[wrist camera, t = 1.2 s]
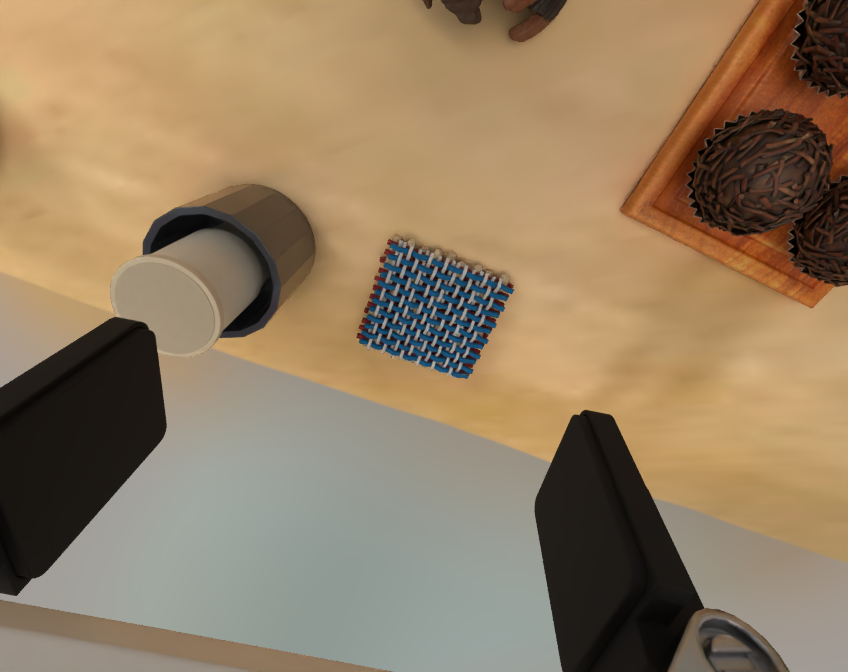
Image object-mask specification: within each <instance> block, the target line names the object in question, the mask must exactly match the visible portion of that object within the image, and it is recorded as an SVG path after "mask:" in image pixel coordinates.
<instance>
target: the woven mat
mask: <svg viewBox="0 0 848 672" xmlns="http://www.w3.org/2000/svg"><path fill="white" fill-rule="evenodd" d="M402 243H403V241H402V237H400V236H398V235H394V238H393V241H392V240H390V239H389V240H388V243H387V244H388V245H391V246H390V249H389V250H388V249H385V252H384V254H386V255H387V257H380V262H382V263H385V264H384V268H379V271H378V272H379V273H381V275H380V276H381V277H378V276H375V278H374V279H375V280H377V281H379V282H378V285H373V290H375V294H372V293H371V294H370V297H369V298H371V299H373V300H372V302H370V301H368V303H367V306H368V307H370V308H365V310H364V312H365V313H368V315H367V318H363V319H362V323H365V324H364V325H360V326H359V329H361V330H362V333H361V334H360V333H358V334H357V337H356V338H359V339H360V340H359V343H360V344H363V346H366V345H368V346H367V350H368V351H369V348H370V346H371V347H372V348H374V350H381V349H382V354H383V353H385V351H386V352H388V355H392V356H391V358H393V359H394V357H395V356H399V360H401V359H402V357H403V358H404V359H405V361H411V362H412V363H414V361H417V362H416V363H415V365H416V366H418V364H421V365H422V367H429V366H430V369H431V370H433V369H436V370H438V371H439V372H440V373H443V372H446V373H448V374H447V375H448V376H450V374H451V375H452V376H453V378H456V377H457V378H466V379H467V378H468V376H469V374H472V372H473V369H471V368H472V367H473V365H474V364H475V362H476V359H480V356H481V355H480V350H478V349H475V348H479V349H481V350H482V348H483V346H484V343H485V344H487V343H488V341H489V340H488V339H486V338H487V337H488V334H490V333H491V330H492V328H495V327H496V325H497V324H496V323H495V321H496V319H494V318H491V317H496V318H498V317H499V315H500V311H502V312H503V311H504V309H505V307H504V303H502V302H500V301H498V300H499V299H500V300H504V301H507V299H508V297H509V295H508V294H506V293H503V291H505V292H507V293H510V294H512V293H513V291H514V290H513V289H512V288H513V286H514V285H512V284H510V283H509V282H508V281H509V278H510V276H508V275H507V274H502V276H501V278H500V279H499V278H496V277H493V278H492V276H493V274H494V272H492V271H490V270H486V272H485V274H484V271H481V270H482V265H479V264H477V265H476V266H475V267H473V268H472V270H470V269H468V264H467V263H465V262H462V261H460V263H459V262H458V263H457V264H456V261H455V258H456V255H457V254H455V253H454V252H453V251H449V253H448V255H447V258H446V260H445V259H444V258H442V254H443V252H442V251H441V250H440V249H435V251H434V253H432V252H431V253H430V251H428V247H427V246H422V245H421V248H420V249H419V250H417V249H414V247H415V240H413V239H410V240H409V241H408V242H404V243H403V244H402ZM399 252H400V254H399ZM411 256H413V257H415V258H416V260H415V259H412V258H411ZM426 261H428V263H427V264H425V263H426ZM408 266H411V267H413V268H412V269H411V268H409V267H408ZM438 267H443V268H442V269H439V268H438ZM392 271H393V272H392ZM396 272H397V273H396ZM422 272H423V273H422ZM483 274H484V275H483ZM435 276H437V277H438V278H435ZM465 276H467V277H468V278H467V277H465ZM393 281H394V282H393ZM448 281H450V282H448ZM480 281H482V282H481V284H479V283H480ZM401 284H402V285H401ZM404 285H406V286H404ZM488 285H489V286H488ZM433 286H435V287H433ZM460 286H464V288H462V287H460ZM491 287H495V289H493V288H491ZM472 290H473V291H472ZM457 294H459V295H460V296H457ZM488 295H489V296H490V297H489V296H488ZM412 297H414V298H412ZM387 298H388V299H387ZM468 299H469V300H468ZM472 300H473V301H472ZM398 302H400V303H398ZM427 303H428V304H427ZM456 304H457V305H456ZM484 305H486V306H484ZM464 307H465V308H464ZM494 308H495V309H497V310H499V311H497V310H495V309H494ZM392 309H393V310H392ZM480 313H481V314H480ZM406 314H408V315H406ZM434 314H435V316H434ZM490 316H491V317H490ZM376 317H377V318H376ZM392 318H394V319H392ZM420 319H422V320H420ZM447 320H450V321H447ZM486 325H488V326H486ZM414 326H415V327H414ZM489 326H490V327H489ZM469 327H470V328H469ZM491 327H492V328H491ZM486 333H488V334H486ZM399 334H400V335H399ZM395 345H396V346H395ZM450 347H451V348H450ZM427 361H428V362H427Z"/></svg>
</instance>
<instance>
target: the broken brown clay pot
mask: <svg viewBox="0 0 848 672" xmlns="http://www.w3.org/2000/svg"><path fill="white" fill-rule="evenodd" d="M441 1H442V3H443V4H444V5H445V7H446V8H447V9H448V10H449V11H450V12H452V13H454V14H455V15H456V16H457V17H458V19H459V21H460V22H461V23H463V24H478V23H480V22H481V13H480V9H479V6H480V4H481V1H482V0H441ZM502 1H503V5H504V7H505V9H506V10H509V11H511V12H519V11H521V10H523V9H524V8H526V7H527V6H529V8H530V10H532V11H534V12H536V13H535V14H533V15H532V16H531V17H530V18H528V19H527V20H525V21H524V22H522V23H520V24H518V25H517V26H515V27H513V28H511V29H510V30H509V36H510V38H511V39H512V40H516V41H518V42H524V41H526V40H528V39H530V38H532V37H533V36H535V35H536V34H538V33H539V32H541V31H542V30H543V29H544V28H545V27H546V26H547V25H548V24H549V23H550V22H551V21H552V20H553V19H554V18H555V17H556V16H557V15H558V13H559V12H560V10H561V9H562V7H563V6H564V5H565V3H566V1H567V0H502ZM423 2H424V4H425V5H426V7H427V8H428V9H430V8H431V7H432V0H423Z"/></svg>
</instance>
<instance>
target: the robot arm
mask: <svg viewBox="0 0 848 672" xmlns="http://www.w3.org/2000/svg"><path fill="white" fill-rule="evenodd" d="M166 425H167V424H166V415H165V407H164V400H163V391H162V383H161V375H160V367H159V359H158V351H157V343H156V336H155V334H154V332H153V331H151V330H149V327H148V326H147V324H146V323H144V322H141V321H136V320H131V319H125V318H120V317H114V318H111V319H109V320H108V321H106V322H104V323H103V324H101V325H100V326H98V327H97V328H95V329H93V330H92V331H90V332H89V333H87V334H85V335H84V336H82V337H81V338H79V339H77V340H76V341H74V342H73V343H71V344H69V345H68V346H66V347H65V348H63V349H61V350H60V351H58V352H57V353H55V354H53V355H52V356H50V357H49V358H47V359H46V360H44V361H42V362H41V363H39V364H38V365H36V366H34V367H33V368H31V369H30V370H28V371H26V372H25V373H23V374H22V375H20V376H18V377H17V378H15V379H14V380H13V381H10V382H9V383H8V384H6V385H4V386H3V387H1V388H0V593H3V594H8V595H14V596H17V595H18V594H19V593H20V591H21V590H22V589H23V588H24V587H25V586H26V585H27V584H28V583H29V581H30V580H31V579H32V578H37V577H40V576H41V575H43V574H44V573H45V572H46V571H47V570H48V569H49V568H50V567H51V566H52V565H53V563H54V562H55V561H56V560H57V559H58V558H59V557H60V556H61V554H62V553H63V552H64V551H65V550H66V549H67V548H68V546H69V545H70V544H71V543H72V542H73V541H74V540H75V538H76V537H77V536H78V535H79V534H80V533H81V532H82V530H83V529H84V528H85V527H86V526H87V525H88V524H89V522H90V521H91V520H92V519H93V518H94V517H95V516H96V515H97V513H98V512H99V511H100V510H101V509H102V508H103V507H104V505H105V504H106V503H107V502H108V501H109V500H110V499H111V497H112V496H113V495H114V494H115V493H116V492H117V490H118V489H119V488H120V487H121V486H122V485H123V484H124V483H125V481H126V480H127V479H128V478H129V477H130V476H131V475H132V473H133V472H134V471H135V470H136V469H137V468H138V467H139V465H140V464H141V463H142V462H143V461H144V460H145V459H146V457H147V456H148V455H149V454H150V453H151V452H152V451H153V450H154V448H155V447H156V446H157V445H158V444H159V443H160V441H161V440H162V439H163V437H164V435H165V432H166V427H167V426H166ZM535 517H536V523H537V529H538V534H539V541H540V546H541V552H542V558H543V563H544V569H545V574H546V581H547V587H548V592H549V598H550V604H551V610H552V615H553V621H554V627H555V633H556V638H557V644H558V650H559V656H560V662H561V666H562V671H563V672H790V671H789V670H788V668H787V667H786V665H785V664H784V662H783V660H782V659H781V657H780V655H779V654H778V653H777V652H776V651H775V649H774V648H773V647H772V646H771V645H770V644H769V642H768V641H767V640H766V639H765V638H764V637H763V636H762V635H760V634H759V633H758V632H757V631H756V630H755V629H753V628H752V627H751V626H750V625H748V624H747V623H745V622H744V621H742V620H740V619H739V618H737V617H736V616H734V615H731V614H729V613H726V612H724V611H721V610H718V609H708V608H704V606H703V604H702V602H701V600H700V598H699V596H698V594H697V592H696V590H695V587H694V586H693V583H692V581H691V579H690V577H689V575H688V573H687V570H686V568H685V566H684V564H683V562H682V560H681V558H680V556H679V554H678V552H677V549H676V547H675V545H674V543H673V541H672V539H671V537H670V535H669V533H668V530H667V528H666V526H665V524H664V522H663V520H662V518H661V516H660V513H659V511H658V509H657V507H656V505H655V503H654V501H653V499H652V496H651V494H650V492H649V490H648V489H647V487H646V486H645V484H644V481H643V479H642V477H641V475H640V473H639V471H638V469H637V467H636V464H635V462H634V460H633V458H632V456H631V454H630V452H629V450H628V447H627V445H626V443H625V441H624V439H623V437H622V435H621V433H620V430H619V428H618V426H617V424H616V422H615V420H614V418H613V417H612V416H611V415H609V414H604V413H599V412H594V411H589V410H584V411H582V412H581V414H580V415H573V416H572V418H571V420H570V422H569V424H568V426H567V429H566V431H565V433H564V436H563V438H562V440H561V442H560V445H559V447H558V449H557V451H556V454H555V456H554V458H553V460H552V463H551V465H550V467H549V470H548V472H547V474H546V477H545V479H544V481H543V483H542V486H541V488H540V490H539V493H538V494H537V497H536V500H535ZM0 672H391V671H386V670H380V669H375V668H370V667H365V666H360V665H354V664H349V663H344V662H338V661H332V660H327V659H322V658H317V657H311V656H306V655H300V654H295V653H290V652H284V651H279V650H273V649H268V648H263V647H258V646H252V645H247V644H241V643H235V642H230V641H225V640H219V639H214V638H208V637H203V636H198V635H192V634H187V633H181V632H176V631H171V630H165V629H159V628H154V627H148V626H143V625H137V624H132V623H126V622H121V621H115V620H109V619H104V618H98V617H93V616H87V615H81V614H76V613H70V612H64V611H59V610H53V609H48V608H42V607H37V606H31V605H26V604H20V603H15V602H8V601H3V600H0Z"/></svg>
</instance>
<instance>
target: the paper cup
mask: <svg viewBox="0 0 848 672" xmlns="http://www.w3.org/2000/svg"><path fill="white" fill-rule="evenodd" d="M270 278H271V273H270V269H269V265H268V262H267V260H266V259H265V257H264V256H263V255H262V253H261V252H260V250H259V249H258V247H257V246H256V244H255V243H254V241H253V240H252V239H251V238H249V237H248V236H247V235H246V234H244V233H243V232H242V231H240V230H239V229H238V228H236V227H235V226H234V225H232V224H231V223H230V222H227V221H225V222H224V223H222V224H220V225H218V226H216V227H214V228H207V229H201V230H198V231H196V232H194V233H192V234H190V235H188V236H186V237H184V238H182V239H180V240H178V241H176V242H174V243H172V244H170V245H168V246H166V247H164V248H162V249H160V250H158V251H156V252H154V253H152V254H147V255H141V256H138V257H135V258H133V259H131V260H129V261H127V262H125V263H124V264H123V265H121V266H120V267H119V268H118V269H117V271H116V272H115V274H114V276H113V278H112V281H111V286H110V297H111V303H112V306H113V309H114V312H115V314H116V316H117V317H120V318H125V319H131V320H136V321H141V322H144V323H146V324H147V326H148V327H149V330H151V331H153V332H154V334H155V336H156V343H157V351H158V353H161V354H164V355H167V356H172V357H192V356H196V355H199V354H202V353H203V352H205V351H207V350H208V349H209V348H211V347H212V346H213V345H214V344H215V342H216V341H217V340H218V339H219V337H220V335H221V333H222V331H223V330H224V329H225V328H226V327H227V326H228V325H229V324H230V323H231V322H232V321H233V320H234V319H235V318H236V317H237V316H238V315H239V314H240V313H241V312H242V311H243V310H244V309H245V308H246V307H247V306H248V305H249V304H250V303H252V302H253V301H254V300H255V298H256V297H257V296H258V294H259V293H260V290H261V287H262V286H263V285H264V284H265V283H266V282H267V281H268V280H269V279H270Z"/></svg>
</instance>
